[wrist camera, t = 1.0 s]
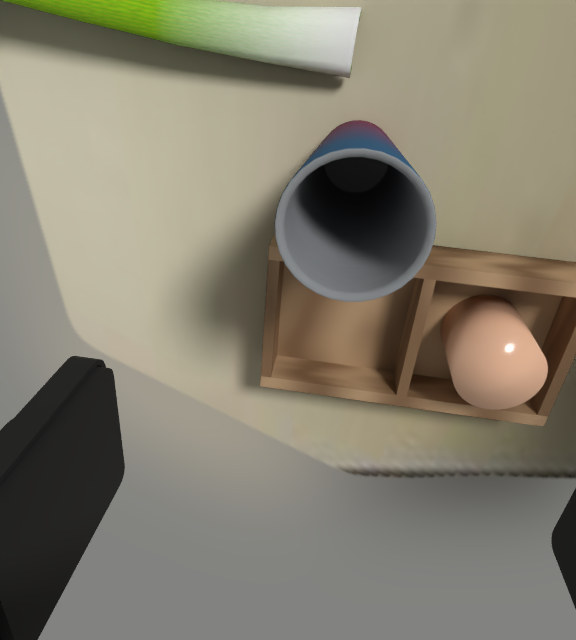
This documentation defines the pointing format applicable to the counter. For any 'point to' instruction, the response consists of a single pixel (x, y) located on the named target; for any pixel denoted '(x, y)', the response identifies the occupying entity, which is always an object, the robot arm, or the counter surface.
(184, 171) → the counter surface
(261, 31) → the leek
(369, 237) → the cup
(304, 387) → the caddy
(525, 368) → the peach capsule shape
